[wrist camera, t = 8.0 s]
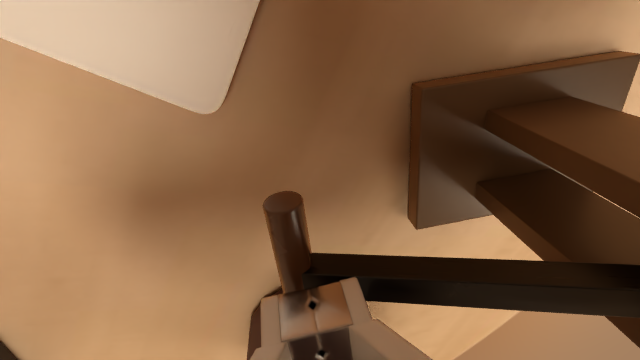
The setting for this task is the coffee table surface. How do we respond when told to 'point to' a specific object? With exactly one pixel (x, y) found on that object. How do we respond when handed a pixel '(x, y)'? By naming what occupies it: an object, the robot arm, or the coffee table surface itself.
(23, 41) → the smartphone
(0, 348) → the control box
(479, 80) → the bracket
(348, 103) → the coffee table surface
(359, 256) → the lever
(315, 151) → the coffee table surface
